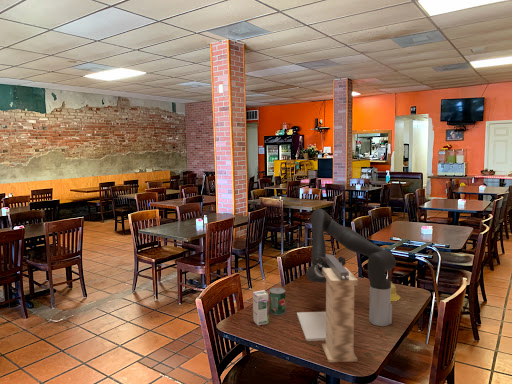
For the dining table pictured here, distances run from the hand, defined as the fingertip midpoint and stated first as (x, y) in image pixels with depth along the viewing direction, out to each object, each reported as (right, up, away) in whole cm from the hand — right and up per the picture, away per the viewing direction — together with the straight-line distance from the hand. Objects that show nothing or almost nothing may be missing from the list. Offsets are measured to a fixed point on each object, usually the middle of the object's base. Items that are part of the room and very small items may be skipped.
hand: (331, 259), depth 157 cm
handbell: (+40, -29, +46) cm, 68 cm away
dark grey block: (0, -3, -7) cm, 8 cm away
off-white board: (-2, -33, +14) cm, 36 cm away
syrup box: (-29, -33, +19) cm, 48 cm away
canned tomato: (-21, -32, +30) cm, 49 cm away
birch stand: (+1, -35, -8) cm, 36 cm away
